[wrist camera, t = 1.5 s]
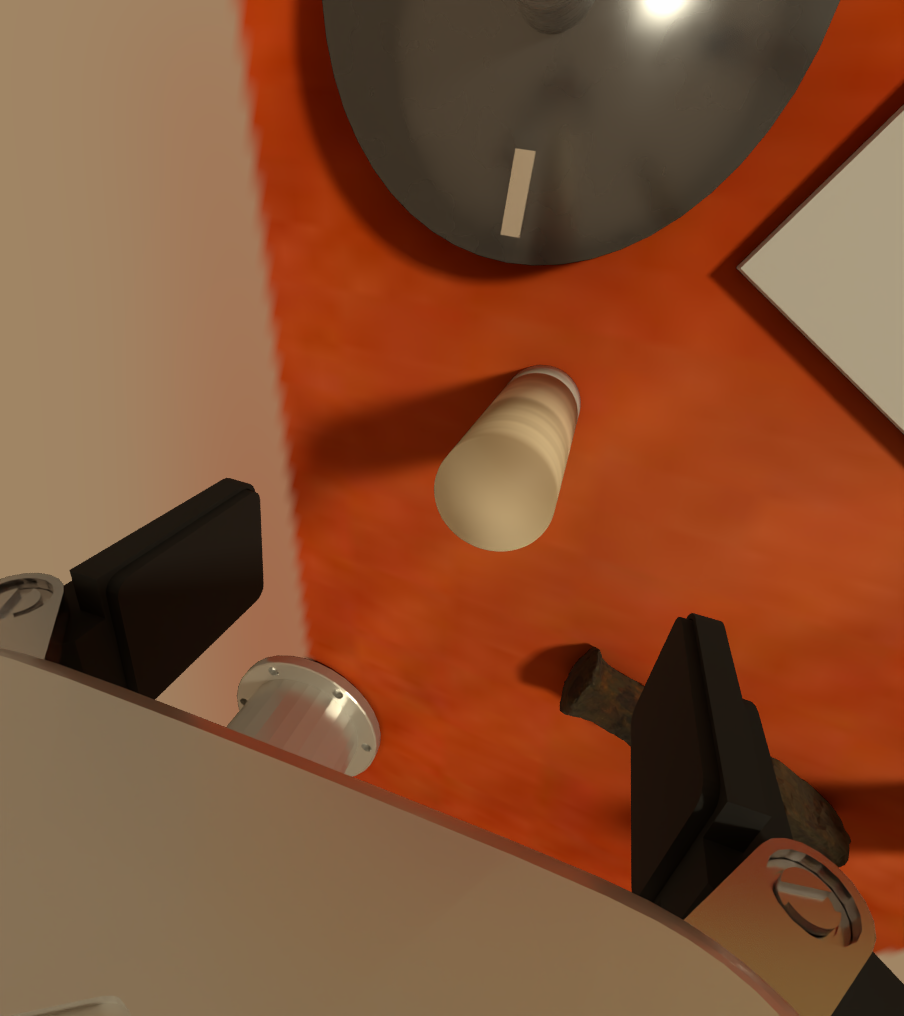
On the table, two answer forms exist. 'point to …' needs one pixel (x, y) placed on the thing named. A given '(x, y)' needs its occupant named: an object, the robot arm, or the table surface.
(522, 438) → the beige rounded cylinder
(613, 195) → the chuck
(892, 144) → the mat
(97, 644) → the robot arm
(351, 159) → the table surface
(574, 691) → the hand tool
